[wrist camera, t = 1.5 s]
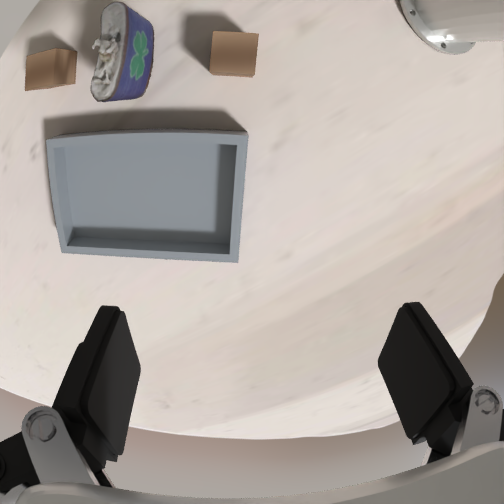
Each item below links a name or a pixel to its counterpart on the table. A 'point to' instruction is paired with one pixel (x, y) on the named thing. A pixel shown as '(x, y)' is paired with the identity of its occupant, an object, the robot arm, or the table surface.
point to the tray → (149, 192)
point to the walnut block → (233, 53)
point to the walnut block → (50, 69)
